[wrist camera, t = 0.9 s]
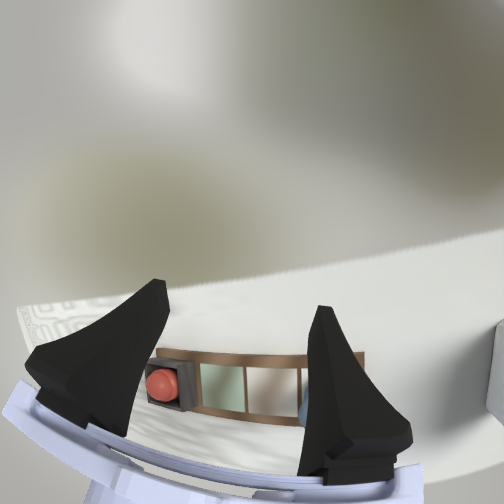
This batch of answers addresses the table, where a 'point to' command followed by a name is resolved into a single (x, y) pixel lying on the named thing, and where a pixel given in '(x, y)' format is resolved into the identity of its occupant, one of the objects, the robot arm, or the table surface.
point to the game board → (237, 384)
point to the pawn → (304, 409)
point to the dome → (163, 384)
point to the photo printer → (497, 377)
